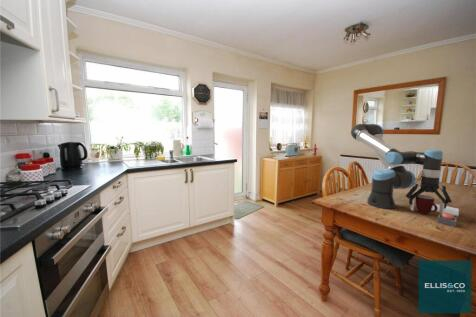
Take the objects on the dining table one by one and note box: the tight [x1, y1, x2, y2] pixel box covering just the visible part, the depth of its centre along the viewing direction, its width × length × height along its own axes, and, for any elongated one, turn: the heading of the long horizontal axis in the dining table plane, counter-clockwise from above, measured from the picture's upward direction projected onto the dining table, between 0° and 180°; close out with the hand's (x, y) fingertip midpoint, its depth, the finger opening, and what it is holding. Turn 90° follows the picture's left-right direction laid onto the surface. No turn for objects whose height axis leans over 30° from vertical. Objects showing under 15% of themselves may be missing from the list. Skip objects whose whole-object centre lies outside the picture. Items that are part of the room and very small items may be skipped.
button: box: [441, 213, 455, 220], centre depth 108 cm, size 4×4×2 cm
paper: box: [431, 203, 460, 217], centre depth 127 cm, size 16×12×1 cm
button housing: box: [436, 213, 458, 228], centre depth 108 cm, size 7×7×3 cm
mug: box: [415, 194, 438, 215], centre depth 120 cm, size 11×8×10 cm
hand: (426, 211), depth 120 cm, fingers open, 13 cm apart
